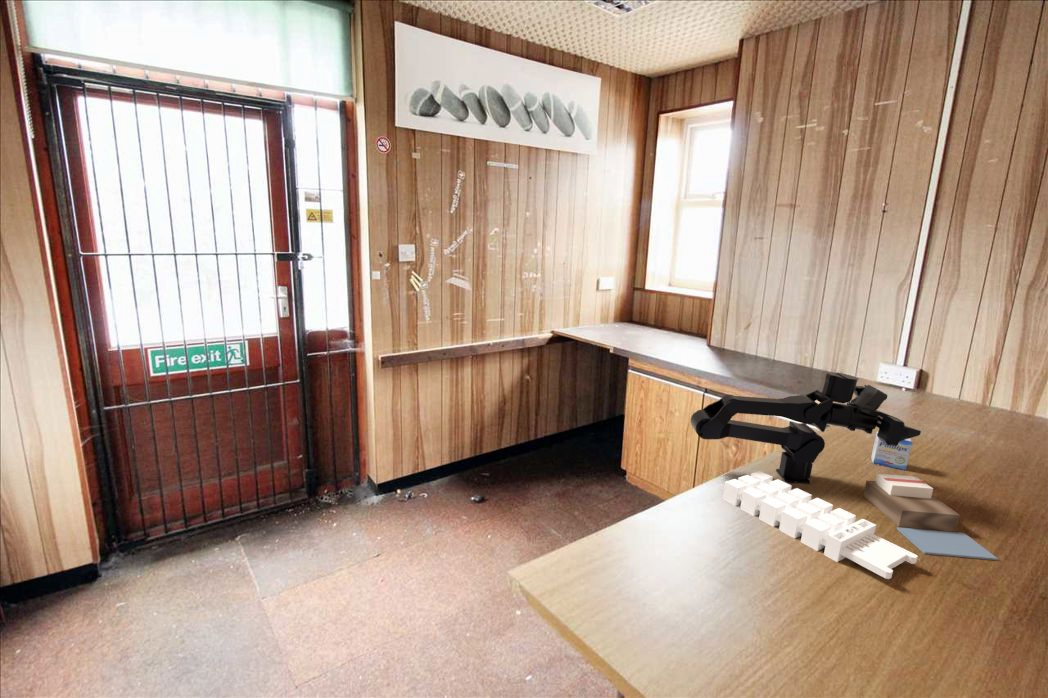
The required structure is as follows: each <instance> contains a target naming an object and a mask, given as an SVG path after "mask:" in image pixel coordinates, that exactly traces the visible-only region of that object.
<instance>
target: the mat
mask: <svg viewBox="0 0 1048 698" xmlns="http://www.w3.org/2000/svg"><path fill="white" fill-rule="evenodd" d="M896 530H897V531H898V532H900V533H901V534H902V535H903V536H904V537H905V538H906V539H907V540H908V541H910V543H911V544H913V545H914V546H915V547H916V548H917V549H918V550H919V551H920V552H921V553H923V554H924V555H934V556H935V555H936V556H943V557H944V556H946V557H957V558H968V559H978V560H991V561H998V560H999V558H998V557H996V555H994V554H992V553H991V552H990V551H989V550H988V549H986V548H985V547H983V546H982V545H981V544H980V543H978V542H977V541H975V540H974V539H973V538H972V537H970V536H969V535H968V534H967V533H965V532H957V531H956V532H953V531H942V530H930V529H919V528H907V527H898V526H897V527H896Z"/></svg>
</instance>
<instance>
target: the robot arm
mask: <svg viewBox="0 0 1048 698" xmlns="http://www.w3.org/2000/svg"><path fill="white" fill-rule="evenodd" d="M858 379H859V378H858V377H856V376H854V375H850V374H846V373H843V372H832V373H830V372H829V373H828V372H827V373H826V375H825V381H824V384H823V388H822V391H821V390H819V389H815V390H813V391H811V392H809V393H807V394H805V395H803V394H800V395H790V396H789V395H788V396H786V397H783V398H772V397H771V398H770V397H756V396H743V395H733V394H726V395H724V396H722V397H721V398H719V399H718V400H717V401H714V402H711V403H710V404H708V405H706V406H705V407H704V408H702V409H698V410H697V411H695V412H694V413H693V414H692V415H691V417H690V425H691V426H692V428H693V430H694V431H695V433H696V434H697V436H698V437H699V438H700V439H703V440H709V441H710V440H721V439H726V438H734V439H739V440H746V441H753V442H759V443H765V444H770V445H772V444H773V445H779V446H780V447H781V449H782V450H784V451H782V452H781V457H780V463H779V467H778V468H776V469H775V472H776V473H777V474H778V475H779V476H780V477H781V478H782V480H783V482H785V483H800V484H811V483H812V481H811V480H810V478H811V474H812V470H813V463H815V460H816V459H817V458H818V456H819V454H821V453H822V452H823V451H824V448H825V446H826V442H825V439H824V438H823V437H822V436H821V435H820V434H819V433H818V432H816V431H815V430H813V428H811V427H810V426H809V425H814V426H815V427H816V429H818V430H819V431H821V433H824V432H825V430H826V429H827V428H826V427H827V425H829V426H834V427H840V428H841V427H842V428H846V429H848V430H849V431H852V432H855V431H856V430H859V431H863V432H865V433H866V434H870V435H873V430H876V428H878V434H877V436H878V438H879V439H880V440H881V441H882V442H884V443H885V444H887V445H890V446H897V445H898V443H899V442H900V441H903V440H906V439H909V438H910V439H912V438H915V437H918V436H920V435H921V434H922V431H921V430H919V429H916V428H913V427H911V426H908V425H905V422H904V421H903V420H902V419H900V418H899V417H898V418H897V417H896V416H893V415H891V414H887V413H885V412H882V411H880V410H878V409H879V408H880V407H881V406H882V404H883V403H884V401H886V400H887V399H888V394H887V393H885V392H883V391H882V390H879V389H878V388H876V387H874V386H872V385H870V384H868V385H867V384H864V385H862V386H861V385H857V383H858ZM853 395H855V397H854V398H853ZM816 401H818V402H819V403H818V402H816ZM737 414H744V415H758V416H769V417H770V416H771V417H772V416H773V417H781V418H786V419H789V420H792V421H789V423H788V424H789V425H788V426H785V427H779V426H772V425H766V424H761V423H753V422H752V423H751V422H747V421H740V420H735V419H734V420H733V419H732V418H733V417H734V416H735V415H737ZM794 421H795V422H794ZM798 422H799V423H798Z"/></svg>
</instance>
